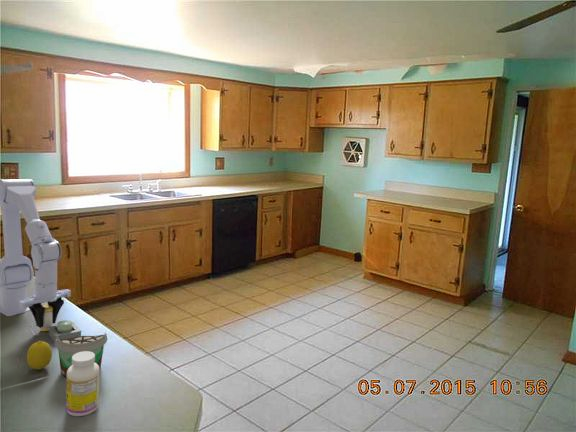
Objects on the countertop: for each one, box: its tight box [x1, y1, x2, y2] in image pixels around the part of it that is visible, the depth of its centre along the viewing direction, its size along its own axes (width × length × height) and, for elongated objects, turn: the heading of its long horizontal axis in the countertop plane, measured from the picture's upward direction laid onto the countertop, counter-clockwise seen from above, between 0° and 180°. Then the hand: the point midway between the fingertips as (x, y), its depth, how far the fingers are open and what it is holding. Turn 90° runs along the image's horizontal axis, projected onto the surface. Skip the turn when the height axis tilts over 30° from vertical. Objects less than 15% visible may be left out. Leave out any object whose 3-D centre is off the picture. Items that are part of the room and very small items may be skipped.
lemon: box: [26, 340, 53, 371], centre depth 110 cm, size 6×6×8 cm
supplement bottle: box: [65, 351, 101, 417], centre depth 97 cm, size 7×7×13 cm
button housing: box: [48, 321, 82, 344], centre depth 129 cm, size 7×7×2 cm
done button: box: [56, 320, 74, 334], centre depth 128 cm, size 4×4×3 cm
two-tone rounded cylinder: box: [39, 304, 54, 332], centre depth 130 cm, size 4×4×7 cm
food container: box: [54, 333, 108, 379], centre depth 110 cm, size 12×6×10 cm, turn 117°
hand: (45, 324), depth 131 cm, fingers closed on two-tone rounded cylinder, 3 cm apart
